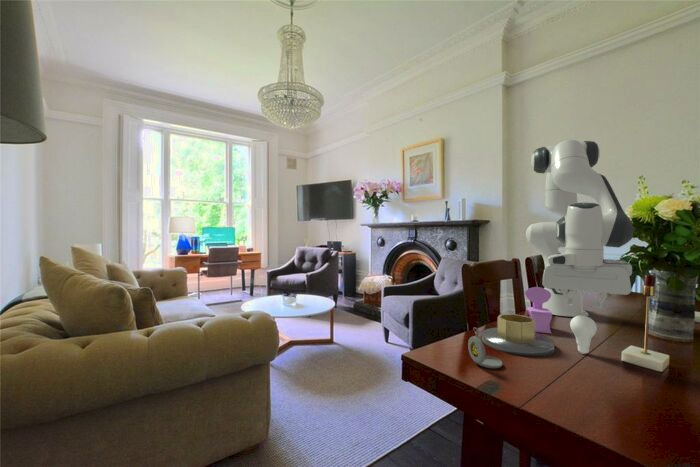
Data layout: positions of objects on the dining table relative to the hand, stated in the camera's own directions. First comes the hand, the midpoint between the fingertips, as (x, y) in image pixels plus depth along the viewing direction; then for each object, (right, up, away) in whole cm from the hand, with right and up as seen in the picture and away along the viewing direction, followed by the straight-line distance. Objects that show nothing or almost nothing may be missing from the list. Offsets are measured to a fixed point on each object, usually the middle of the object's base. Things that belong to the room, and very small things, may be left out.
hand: (583, 306), depth 89 cm
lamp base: (-15, -14, +8) cm, 22 cm away
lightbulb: (0, -14, 0) cm, 14 cm away
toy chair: (0, -14, +22) cm, 26 cm away
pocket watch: (-32, -14, -7) cm, 36 cm away
